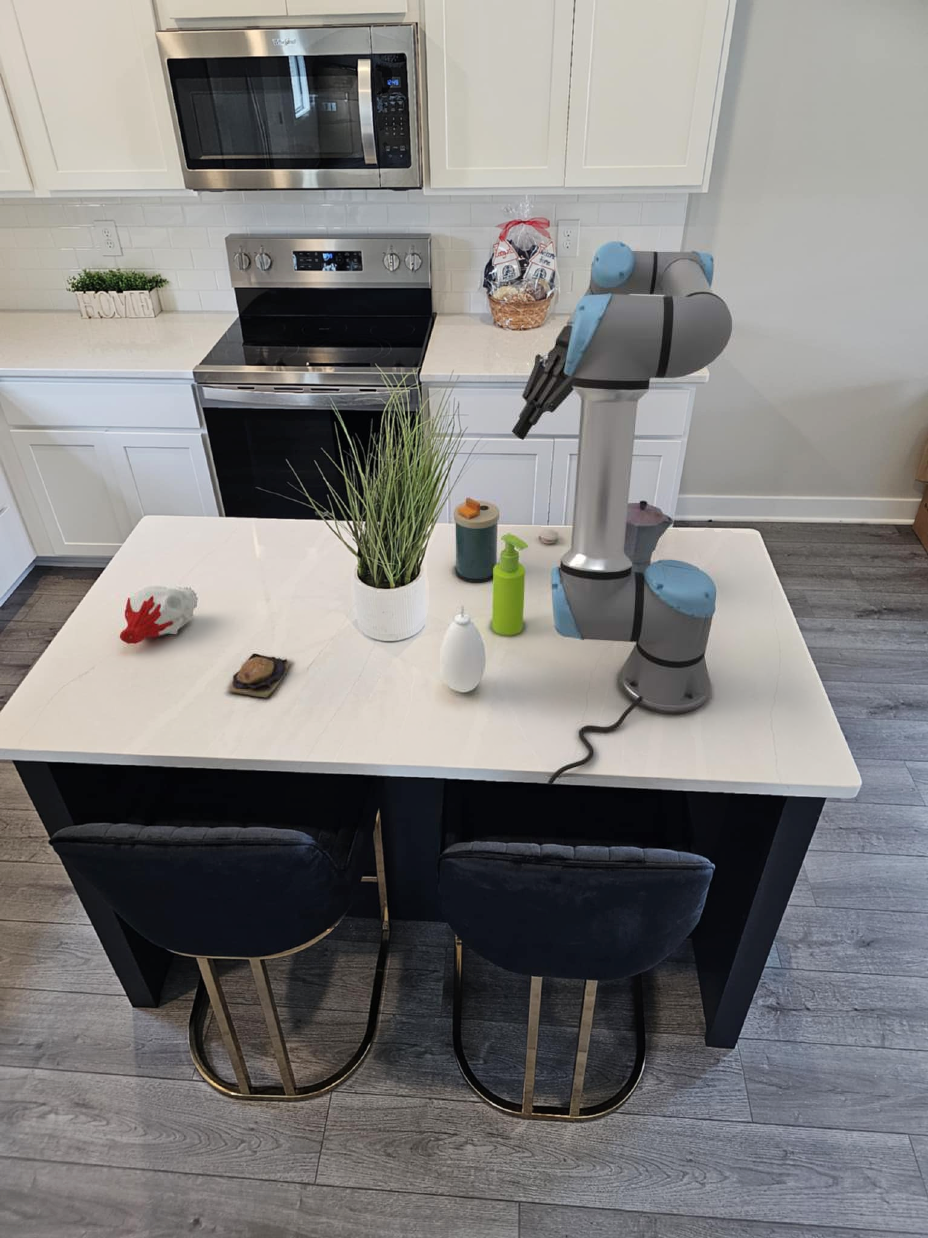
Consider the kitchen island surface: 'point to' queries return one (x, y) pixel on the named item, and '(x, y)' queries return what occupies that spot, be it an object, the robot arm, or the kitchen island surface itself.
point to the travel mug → (476, 543)
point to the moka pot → (643, 533)
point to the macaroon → (548, 536)
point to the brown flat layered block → (259, 676)
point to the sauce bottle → (462, 654)
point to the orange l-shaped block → (470, 508)
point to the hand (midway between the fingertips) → (517, 435)
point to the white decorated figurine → (157, 612)
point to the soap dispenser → (509, 588)
